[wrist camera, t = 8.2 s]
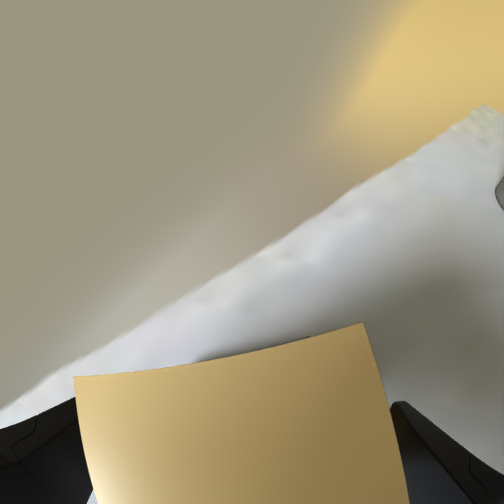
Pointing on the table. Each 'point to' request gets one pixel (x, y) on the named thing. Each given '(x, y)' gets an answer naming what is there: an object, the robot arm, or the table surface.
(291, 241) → the table surface
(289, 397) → the plug
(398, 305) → the table surface
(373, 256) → the table surface
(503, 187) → the flask
